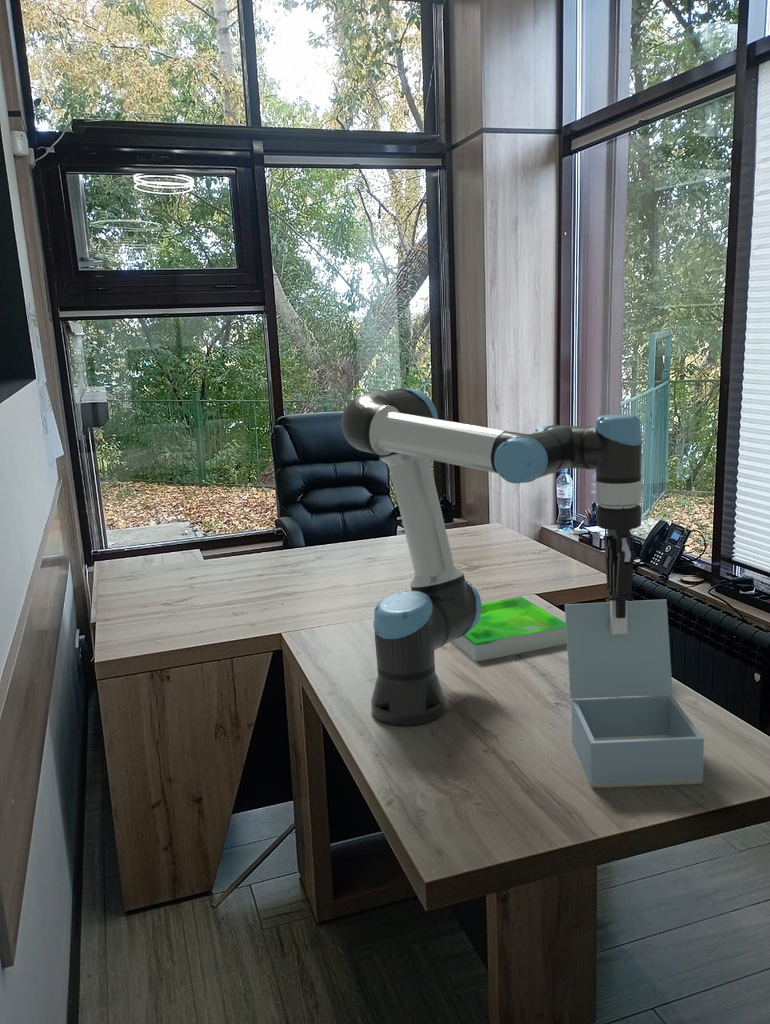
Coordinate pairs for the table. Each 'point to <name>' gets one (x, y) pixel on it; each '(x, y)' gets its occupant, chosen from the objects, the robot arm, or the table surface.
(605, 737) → the box
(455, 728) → the table surface
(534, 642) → the tray
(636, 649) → the lid
